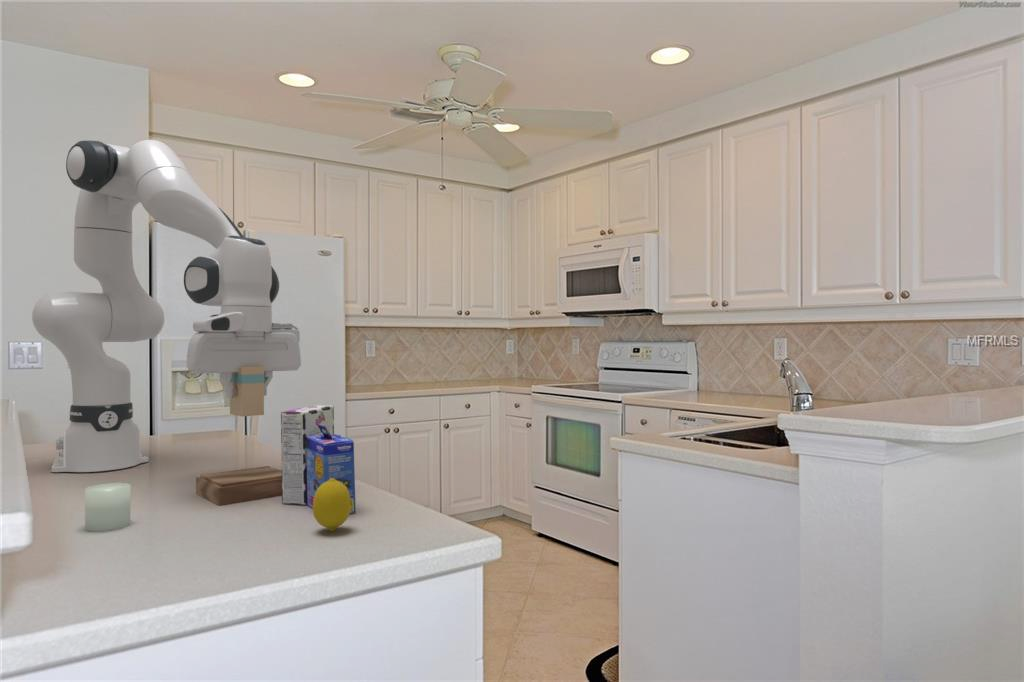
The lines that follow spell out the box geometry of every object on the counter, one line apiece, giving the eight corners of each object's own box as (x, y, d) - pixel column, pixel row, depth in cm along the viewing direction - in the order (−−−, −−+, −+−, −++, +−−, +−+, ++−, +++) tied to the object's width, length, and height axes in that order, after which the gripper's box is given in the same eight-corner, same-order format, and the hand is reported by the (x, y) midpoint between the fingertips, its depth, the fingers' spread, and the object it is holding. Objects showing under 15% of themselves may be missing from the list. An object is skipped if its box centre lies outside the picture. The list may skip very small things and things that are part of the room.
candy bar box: (311, 490, 126) (311, 404, 126) (335, 491, 125) (335, 405, 125) (279, 504, 115) (279, 410, 115) (305, 506, 114) (305, 411, 114)
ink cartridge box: (304, 505, 114) (304, 422, 114) (335, 501, 117) (335, 420, 117) (324, 518, 106) (324, 428, 106) (356, 513, 109) (356, 426, 109)
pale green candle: (81, 525, 102) (82, 486, 102) (125, 518, 106) (126, 481, 106) (88, 534, 97) (88, 493, 97) (134, 526, 101) (134, 487, 101)
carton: (229, 413, 124) (229, 366, 124) (251, 412, 126) (251, 365, 126) (242, 416, 119) (242, 367, 119) (264, 414, 122) (264, 366, 122)
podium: (196, 493, 123) (196, 474, 123) (269, 482, 132) (269, 465, 132) (219, 505, 114) (219, 485, 114) (296, 492, 123) (296, 474, 123)
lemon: (315, 538, 95) (315, 483, 95) (310, 528, 100) (310, 476, 100) (353, 534, 98) (354, 480, 97) (347, 524, 103) (347, 473, 103)
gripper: (292, 323, 132) (292, 392, 132) (183, 321, 118) (183, 398, 118) (306, 323, 128) (306, 394, 128) (195, 321, 114) (195, 401, 114)
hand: (246, 396), depth 123 cm, fingers closed on carton, 4 cm apart
